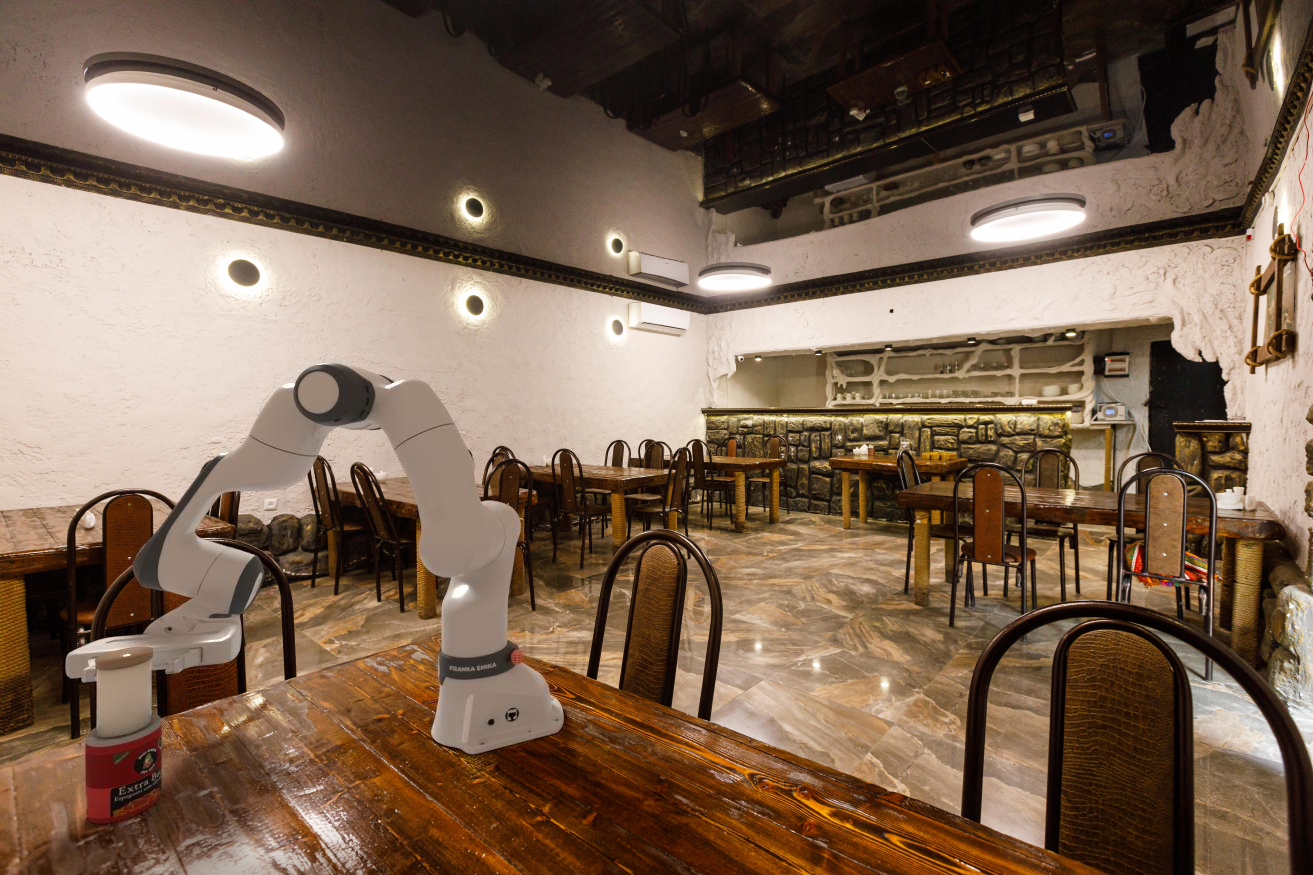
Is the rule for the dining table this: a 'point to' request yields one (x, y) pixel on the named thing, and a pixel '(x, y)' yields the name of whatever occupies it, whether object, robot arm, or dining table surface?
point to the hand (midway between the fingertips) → (130, 672)
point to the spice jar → (123, 690)
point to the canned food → (123, 773)
